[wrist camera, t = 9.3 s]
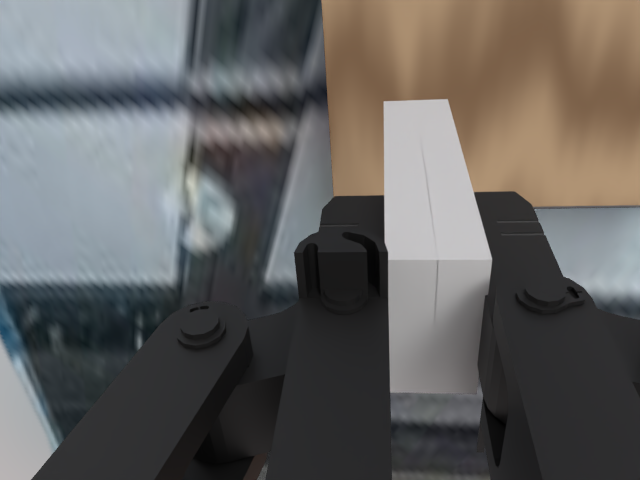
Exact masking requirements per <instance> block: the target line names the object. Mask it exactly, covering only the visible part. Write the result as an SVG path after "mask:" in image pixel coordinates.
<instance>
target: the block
mask: <svg viewBox="0 0 640 480" xmlns="http://www.w3.org/2000/svg"><path fill="white" fill-rule="evenodd" d="M321 1H322V17H323V33H324V49H325V65H326V82H327V98H328V114H329V130H330V146H331V162H332V178H333V195H334V196H369V195H384V101H407V100H436V99H448V102H449V106H450V109H451V113H452V116H453V120H454V124H455V127H456V131H457V134H458V138H459V142H460V145H461V149H462V152H463V156H464V160H465V163H466V167H467V170H468V174H469V178H470V181H471V185H472V188H473V192H501V191H515V192H516V193H518V194H519V195H520V196H522V197H523V198H524V199H525V200H527V201H528V202H529V203H531V204H532V206H533V207H541V206H615V205H640V0H321Z"/></svg>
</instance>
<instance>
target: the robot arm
mask: <svg viewBox="0 0 640 480" xmlns="http://www.w3.org/2000/svg"><path fill="white" fill-rule="evenodd" d="M294 256H295V265H296V274H297V283H298V292H299V301H298V302H297V303H296V304H295V305H293V306H292V307H290V308H288V309H286V310H284V311H282V312H279V313H276V314H273V315H270V316H266V317H261V318H257V319H252V320H247V319H246V315H245V314H244V313H243V312H242V311H241V310H240V309H239V308H237V307H236V306H233V305H230V304H228V303H225V302H211V301H206V302H201V303H196V304H192V305H188V306H186V307H184V308H182V309H180V310H178V311H176V312H174V313H172V314H171V315H170V316H169V317H168V318H167V319H165V320H164V321H163V322H162V323H161V324H160V325H159V327H158V328H157V329H156V330H155V331H154V333H153V334H152V335H151V336H150V337H149V339H148V340H147V341H146V342H145V343H144V345H143V346H142V347H141V348H140V349H139V351H138V352H137V353H136V354H135V355H134V357H133V358H132V359H131V360H130V361H129V363H128V364H127V365H126V366H125V367H124V369H123V370H122V371H121V372H120V373H119V375H118V376H117V377H116V378H115V380H114V381H113V382H112V383H111V384H110V386H109V387H108V388H107V389H106V390H105V392H104V393H103V394H102V395H101V396H100V398H99V399H98V400H97V401H96V402H95V404H94V405H93V406H92V407H91V408H90V410H89V411H88V412H87V413H86V414H85V416H84V417H83V418H82V419H81V420H80V422H79V423H78V424H77V425H76V426H75V428H74V429H73V430H72V431H71V433H70V434H69V435H68V436H67V437H66V439H65V440H64V441H63V442H62V443H61V445H60V446H59V447H58V448H57V449H56V451H55V452H54V453H53V454H52V455H51V457H50V458H49V459H48V460H47V461H46V463H45V464H44V465H43V466H42V468H41V469H40V470H39V471H38V472H37V474H36V475H35V476H34V477H33V478H32V479H31V480H257V478H258V476H259V474H260V472H261V470H262V468H263V466H264V463H265V461H266V459H267V455H268V452H270V451H271V453H270V458H269V464H268V469H267V475H266V480H392V463H391V411H390V392H396V393H442V394H477V387H478V379H479V376H480V382H481V387H482V392H483V402H482V410H481V418H480V426H479V434H478V443H477V452H484V447H485V449H486V455H487V460H488V466H489V472H490V478H491V480H640V320H637V319H632V318H627V317H623V316H619V315H615V314H612V313H608V312H605V311H602V310H600V309H598V308H597V307H596V305H595V303H594V301H593V299H592V298H591V296H590V295H589V294H588V293H587V291H586V290H585V289H584V288H583V287H582V286H580V285H578V284H577V283H575V282H574V281H572V280H570V279H569V278H565V277H563V275H562V273H561V270H560V268H559V266H558V263H557V261H556V259H555V257H554V254H553V252H552V250H551V247H550V245H549V243H548V241H547V238H546V236H545V235H544V231H543V229H542V227H541V225H540V223H538V218H537V215H536V213H535V211H534V209H533V206H532V204H531V203H529V202H528V201H527V200H525V199H524V198H523V197H522V196H520V195H519V194H518V193H516V192H515V191H501V192H473V188H472V185H471V181H470V178H469V174H468V170H467V167H466V163H465V160H464V156H463V152H462V149H461V145H460V142H459V138H458V134H457V131H456V127H455V124H454V120H453V116H452V113H451V109H450V106H449V102H448V99H436V100H407V101H384V195H369V196H334V198H333V199H332V200H331V201H330V202H329V203H328V204H327V205H326V206H325V207H324V208H323V209H322V215H321V221H320V227H319V232H317V233H314V234H311V235H310V236H308V237H307V238H306V239H304V240H303V241H301V242H300V243H299V245H298V247H297V248H296V250H295V252H294Z"/></svg>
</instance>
